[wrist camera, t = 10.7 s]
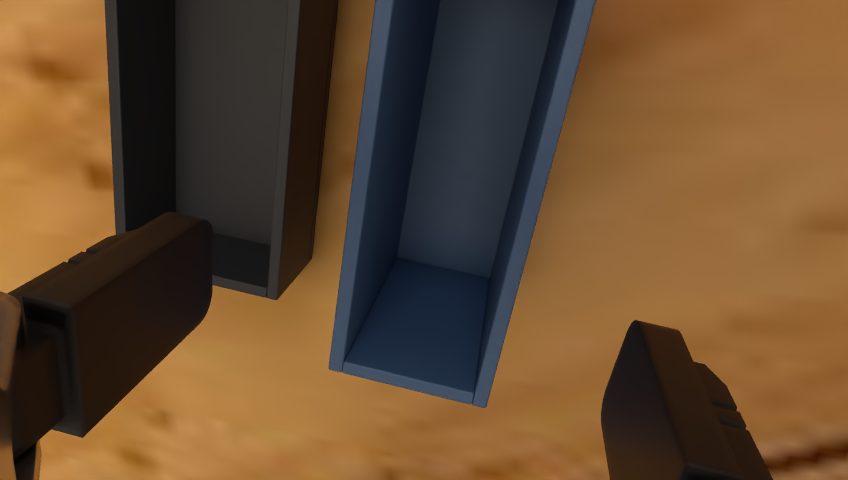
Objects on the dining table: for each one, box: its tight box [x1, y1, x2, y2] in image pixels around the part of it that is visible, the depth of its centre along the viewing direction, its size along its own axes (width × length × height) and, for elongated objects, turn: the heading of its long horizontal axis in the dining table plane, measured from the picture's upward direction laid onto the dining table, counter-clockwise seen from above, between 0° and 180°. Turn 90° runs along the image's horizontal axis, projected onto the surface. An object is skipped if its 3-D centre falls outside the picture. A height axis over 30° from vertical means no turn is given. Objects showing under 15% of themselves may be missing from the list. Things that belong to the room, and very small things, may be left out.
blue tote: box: [329, 0, 596, 408], centre depth 21 cm, size 14×6×10 cm, turn 170°
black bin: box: [105, 0, 338, 300], centre depth 25 cm, size 16×8×4 cm, turn 170°
